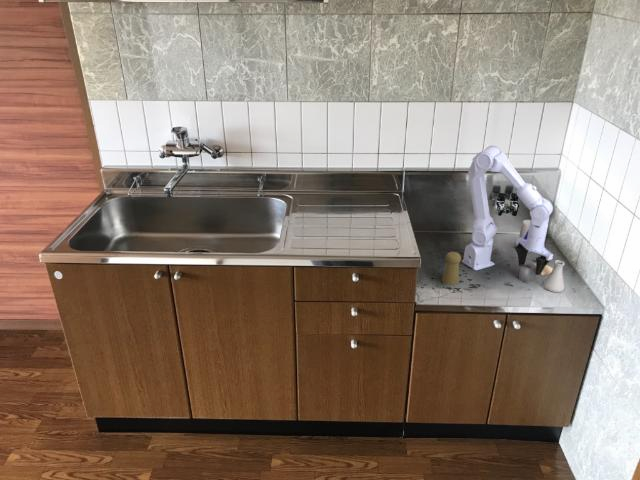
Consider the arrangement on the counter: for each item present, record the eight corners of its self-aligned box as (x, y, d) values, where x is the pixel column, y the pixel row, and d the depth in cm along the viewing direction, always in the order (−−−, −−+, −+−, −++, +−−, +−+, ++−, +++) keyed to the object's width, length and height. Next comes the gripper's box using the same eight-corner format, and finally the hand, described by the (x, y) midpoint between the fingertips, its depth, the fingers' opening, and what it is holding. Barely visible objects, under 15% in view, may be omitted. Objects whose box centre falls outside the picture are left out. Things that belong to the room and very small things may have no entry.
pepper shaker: (459, 277, 185) (463, 250, 180) (458, 286, 180) (462, 258, 175) (442, 275, 187) (445, 248, 182) (440, 283, 182) (444, 256, 177)
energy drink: (532, 253, 201) (538, 226, 196) (517, 252, 202) (523, 224, 197) (530, 247, 206) (535, 220, 200) (516, 246, 207) (521, 219, 201)
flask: (562, 295, 175) (569, 269, 171) (540, 289, 179) (546, 264, 174) (566, 285, 181) (572, 260, 176) (544, 279, 184) (550, 255, 179)
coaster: (541, 276, 186) (542, 274, 186) (526, 267, 192) (527, 265, 191) (555, 271, 189) (555, 270, 189) (540, 263, 195) (540, 261, 194)
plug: (523, 282, 182) (526, 270, 180) (516, 278, 185) (518, 265, 183) (539, 277, 185) (541, 265, 183) (531, 273, 188) (534, 261, 186)
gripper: (562, 241, 173) (554, 275, 179) (528, 224, 185) (522, 257, 191) (547, 245, 170) (539, 280, 176) (514, 228, 182) (508, 262, 188)
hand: (529, 269), depth 183 cm, fingers open, 7 cm apart
